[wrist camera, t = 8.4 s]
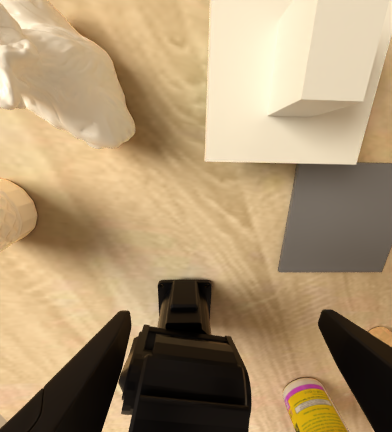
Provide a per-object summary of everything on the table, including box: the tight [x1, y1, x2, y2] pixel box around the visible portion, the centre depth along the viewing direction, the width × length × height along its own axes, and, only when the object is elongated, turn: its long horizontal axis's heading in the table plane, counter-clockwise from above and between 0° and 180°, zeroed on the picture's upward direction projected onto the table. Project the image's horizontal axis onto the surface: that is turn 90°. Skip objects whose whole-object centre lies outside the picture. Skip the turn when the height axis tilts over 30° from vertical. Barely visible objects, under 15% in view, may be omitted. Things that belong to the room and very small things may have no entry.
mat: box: [278, 163, 392, 272], centre depth 22 cm, size 13×13×1 cm
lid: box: [205, 0, 392, 165], centre depth 10 cm, size 11×11×5 cm
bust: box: [0, 0, 135, 149], centre depth 13 cm, size 12×8×11 cm
